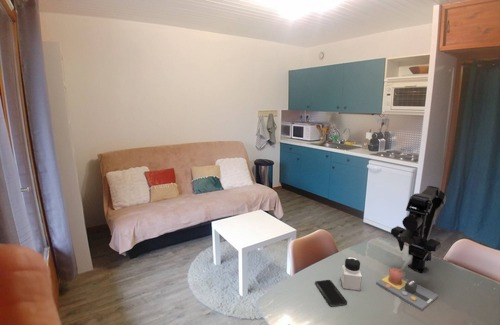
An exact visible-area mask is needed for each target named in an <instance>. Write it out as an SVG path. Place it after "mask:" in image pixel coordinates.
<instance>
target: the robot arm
mask: <svg viewBox="0 0 500 325" xmlns="http://www.w3.org/2000/svg"><path fill="white" fill-rule="evenodd" d="M446 201H447V196H446V193H445V192H443V191H442V189H441V187H438V186H433V185H427V186H426V188H425V189H424V190H423V191H422V192H421V193H414V194H412V195H411V196H410V197H409V200H408V202H407V205H406V208H405V211H406V212H409V213H408V215H406V216H405V217H404V218H403V219H402V226H403V227H404V228H403V227H401V226H398V225H397V226H395V227H393V228H391V230H390V235H392V236H393V237H394V238H395V239H396V240H397V242H398V246H399V250H400V252H402V251H403V250H404V246H405V243H406V244H408V255H410V256H411V263H409V264H408V265H407V267H409V268H410V269H413V270H415V271H416V272H419V273H424V272H425V271H426V270H428V267H427V266H426V263H427V262H429V261H430V262H432V258H433V257H432V252H437V251H438V250H440V249H441V248H442V244H441V241H438V240H436V239H433V238H430V235H431V232H432V229H433V224H434V222H435V220H436V219H435V218H436V215H437V214H438V212H439V211H440V210H442V208H443V206H444V205H445V204H446Z"/></svg>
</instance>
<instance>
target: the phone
mask: <svg viewBox="0 0 500 325" xmlns="http://www.w3.org/2000/svg"><path fill="white" fill-rule="evenodd" d="M314 285H315V287H316V288H317V290H318V291H319V293H320V294H321V296H322V297H323V299H324V300H325V301H326V303H327V305H328V306H329V307H330V308H334V307H335V308H336V307H343V306H347V305H348V301H347V299H346V298H345V296H344V295H343V294H342V293H341V291H340V290H339V289H338V287H337V286H336V285H335V284H334V282H333V281H332V280H331V279H324V280H317V281H315V282H314Z"/></svg>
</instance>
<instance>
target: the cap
mask: <svg viewBox="0 0 500 325" xmlns="http://www.w3.org/2000/svg"><path fill="white" fill-rule="evenodd" d="M403 274H404V272H403V271H402V270H401V269H400V268H396V267H391V268H390V269H389V273H388V275H389V278H388V281H389V282H390V283H392V284H394V285H401V284H402V277H404V276H403Z"/></svg>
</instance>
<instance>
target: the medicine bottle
mask: <svg viewBox="0 0 500 325" xmlns="http://www.w3.org/2000/svg"><path fill="white" fill-rule="evenodd" d="M360 267H361V261H360V260H359V259H357V258H355V257H347V258H345V260H344V264H342V267H341V274H340V275H341V276H340V281H341V284H342V288H343V289H347V290H352V291H353V290H354V291H358V292H359V291H361V287H362V277H363V275H362V272H361V269H360Z"/></svg>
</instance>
